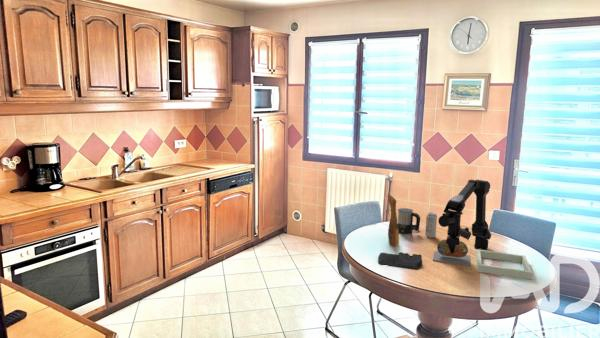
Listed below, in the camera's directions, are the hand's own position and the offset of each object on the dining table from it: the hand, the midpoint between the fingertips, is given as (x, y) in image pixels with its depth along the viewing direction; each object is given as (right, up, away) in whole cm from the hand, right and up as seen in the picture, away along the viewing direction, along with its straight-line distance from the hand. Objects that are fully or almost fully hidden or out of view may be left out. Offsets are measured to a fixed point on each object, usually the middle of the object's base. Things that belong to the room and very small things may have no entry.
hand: (452, 252), depth 215 cm
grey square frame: (+22, -6, -9) cm, 24 cm away
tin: (0, -2, 0) cm, 2 cm away
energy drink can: (0, +2, +36) cm, 36 cm away
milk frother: (-11, +4, +46) cm, 47 cm away
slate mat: (0, -4, +1) cm, 4 cm away
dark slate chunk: (-29, -5, -5) cm, 30 cm away
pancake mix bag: (-26, 0, +24) cm, 36 cm away
